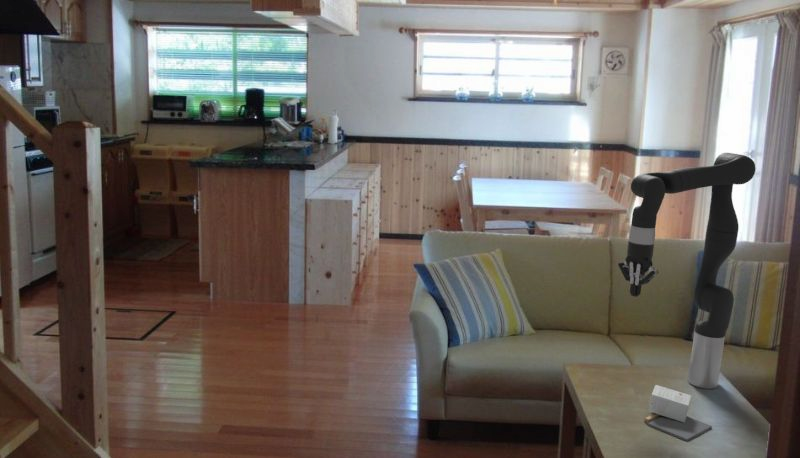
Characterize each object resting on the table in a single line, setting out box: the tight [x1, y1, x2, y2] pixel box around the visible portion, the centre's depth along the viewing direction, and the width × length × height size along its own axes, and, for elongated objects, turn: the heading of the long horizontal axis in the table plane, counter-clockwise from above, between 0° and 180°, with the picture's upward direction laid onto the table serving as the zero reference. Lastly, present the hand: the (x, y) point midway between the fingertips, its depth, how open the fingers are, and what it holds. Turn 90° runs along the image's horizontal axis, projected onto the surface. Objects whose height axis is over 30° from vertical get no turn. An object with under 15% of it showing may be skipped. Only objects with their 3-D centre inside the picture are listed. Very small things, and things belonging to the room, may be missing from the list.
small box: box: [647, 384, 692, 423], centre depth 223 cm, size 8×6×10 cm
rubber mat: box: [647, 416, 713, 442], centre depth 218 cm, size 14×12×1 cm
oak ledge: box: [644, 413, 662, 424], centre depth 223 cm, size 12×1×1 cm, turn 132°
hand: (634, 295), depth 235 cm, fingers closed
